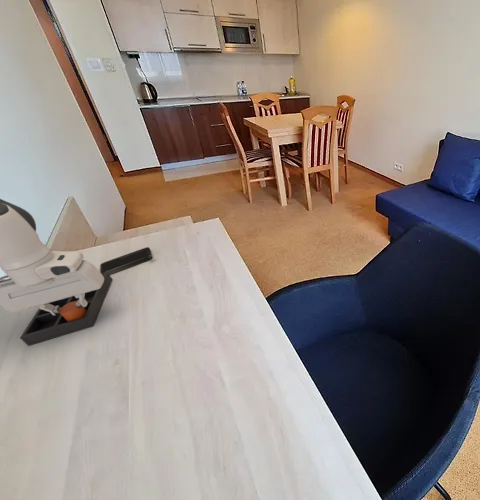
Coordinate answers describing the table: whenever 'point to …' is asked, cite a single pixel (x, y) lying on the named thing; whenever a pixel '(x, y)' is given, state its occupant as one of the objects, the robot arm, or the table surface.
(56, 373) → the table surface
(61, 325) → the grid
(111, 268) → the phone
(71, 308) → the orange cylinder
